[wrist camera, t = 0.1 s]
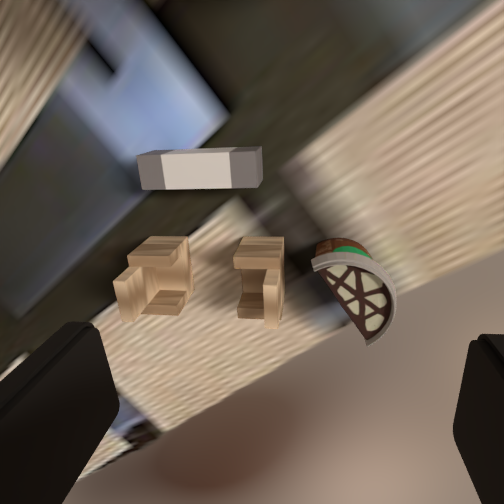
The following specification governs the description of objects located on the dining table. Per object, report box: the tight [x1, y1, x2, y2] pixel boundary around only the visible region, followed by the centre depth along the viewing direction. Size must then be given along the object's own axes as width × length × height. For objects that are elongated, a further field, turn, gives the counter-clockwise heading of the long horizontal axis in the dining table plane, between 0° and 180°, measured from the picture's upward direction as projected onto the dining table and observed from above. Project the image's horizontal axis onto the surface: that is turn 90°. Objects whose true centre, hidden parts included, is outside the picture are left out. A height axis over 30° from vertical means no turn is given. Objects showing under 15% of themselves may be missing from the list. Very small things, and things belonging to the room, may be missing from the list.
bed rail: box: [136, 146, 263, 190], centre depth 42 cm, size 4×14×5 cm, turn 93°
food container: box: [311, 238, 396, 347], centre depth 42 cm, size 12×6×10 cm, turn 36°
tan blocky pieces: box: [113, 236, 285, 329], centre depth 44 cm, size 8×19×11 cm, turn 93°
